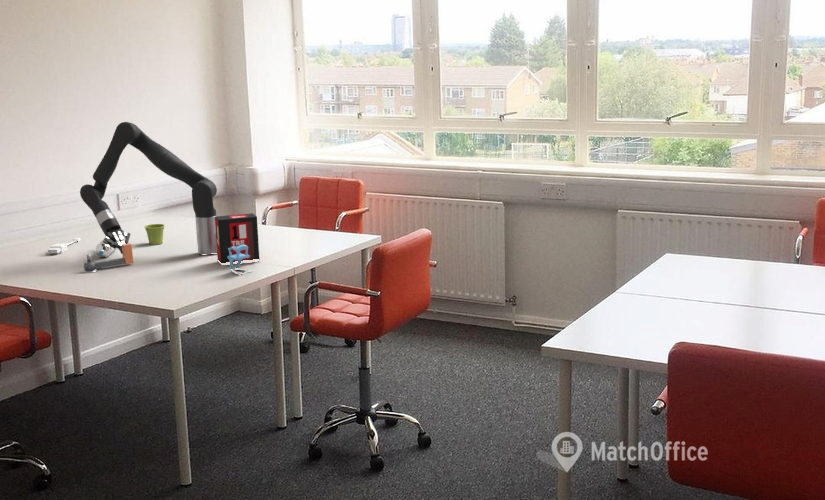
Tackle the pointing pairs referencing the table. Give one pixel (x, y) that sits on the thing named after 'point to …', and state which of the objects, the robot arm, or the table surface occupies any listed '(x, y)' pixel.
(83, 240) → the table surface
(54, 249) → the charging cable
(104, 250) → the water bottle
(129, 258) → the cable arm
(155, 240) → the plant pot
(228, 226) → the black and red box
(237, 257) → the chair
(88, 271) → the pivot base
